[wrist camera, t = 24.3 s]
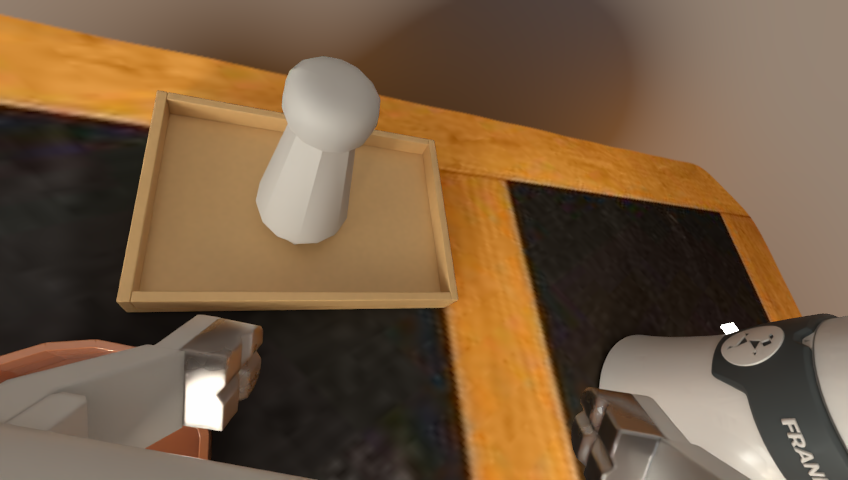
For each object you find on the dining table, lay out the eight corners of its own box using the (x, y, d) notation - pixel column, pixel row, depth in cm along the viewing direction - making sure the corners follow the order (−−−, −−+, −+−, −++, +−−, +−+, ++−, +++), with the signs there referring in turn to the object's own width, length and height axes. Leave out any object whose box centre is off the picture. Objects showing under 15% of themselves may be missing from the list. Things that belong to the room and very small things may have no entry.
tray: (424, 155, 36) (434, 140, 34) (444, 307, 30) (458, 299, 28) (162, 113, 27) (156, 89, 25) (126, 312, 22) (115, 301, 20)
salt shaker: (313, 172, 29) (358, 25, 19) (355, 233, 29) (426, 118, 18) (237, 200, 26) (238, 43, 15) (282, 270, 26) (315, 157, 15)
